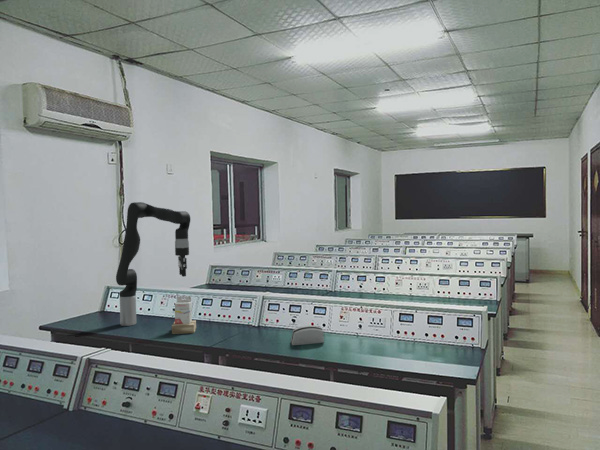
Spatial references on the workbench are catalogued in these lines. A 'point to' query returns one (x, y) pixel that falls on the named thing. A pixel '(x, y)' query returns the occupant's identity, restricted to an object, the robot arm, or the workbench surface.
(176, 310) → the ink cartridge box
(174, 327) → the birch block
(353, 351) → the workbench surface
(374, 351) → the workbench surface
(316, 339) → the grey arched block
